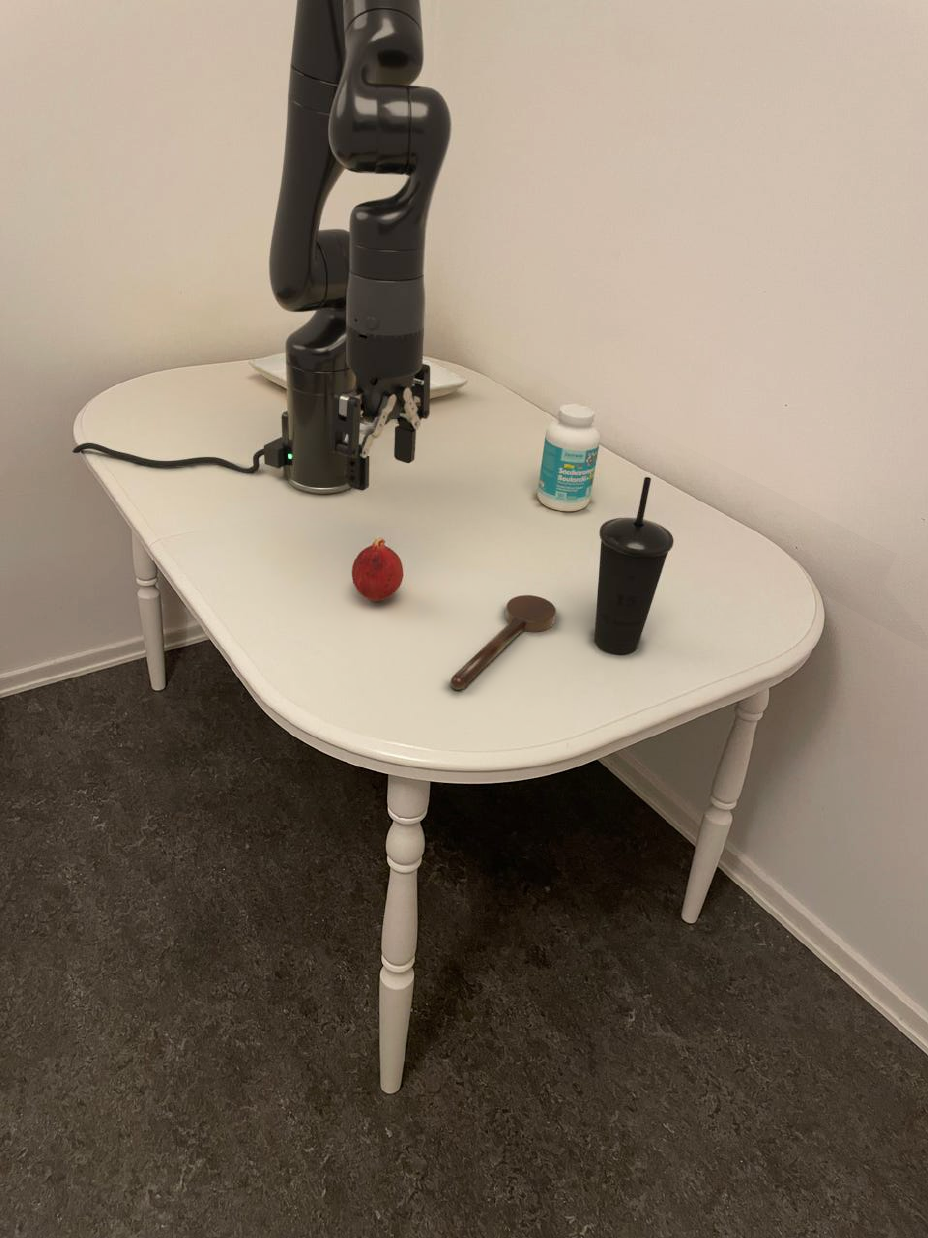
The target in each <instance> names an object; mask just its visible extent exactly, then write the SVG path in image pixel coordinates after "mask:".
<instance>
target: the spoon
mask: <svg viewBox="0 0 928 1238" xmlns="http://www.w3.org/2000/svg"><path fill="white" fill-rule="evenodd" d="M556 610H557V609H556V606H555V605H554V604H553V603H552V602H551V601H550V600H548V599H546V598H544V597H542V596H538V595H533V594H532V595H531V594H523V595H517V596H514V597H512V598H511V599H509V601H508V602H507V603H506V607H505V620H506V622H507V624H506V625H505V627H504V628H502V629H501V630H500V631H499V632H498V633H497V634H496V635H495V636H494V637H493V638H491V640H489V641H488V642H487V643H486V644H485V645H484V646H483V647H482V648H481V649H480V650H479V651H478V652H477V653H476V654H474V655H473V657H472V658H470V659H469V660H468V661H467V662H466V663H465V664H464V665H463V666H462V667H461V668H460V669H459V670H458V671H456V672H455V674H453V675H452V677H451V678H450V686H451V687H452V688H453V689H454V690H457V691H461V690H464V688H465V687H466V686H467V685H468V684H470V682H472V681H473V679H475V678H476V677H477V676H478V675H479V673H481V672H482V671H483V670H484V669H485V668H486V667H487V666H488V665H489V664H490V663H491V662H492V661H493V660H494V659H496V658H497V656H498V655H499V654H500V653H501V652H502V651H503V650H504V649H505V648H506V647H507V646H508V645H509V644H510V643H511V642H512V641H514V640H515V638H516V637H518V636H519V635H520V634H521V633H522V632H526V633H527V632H529V633H540V632H544V631H547V630H549V629H551V628H552V627H553V626H554V624H555V620H556V612H557V611H556Z"/></svg>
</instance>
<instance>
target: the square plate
mask: <svg viewBox="0 0 928 1238" xmlns="http://www.w3.org/2000/svg"><path fill="white" fill-rule="evenodd" d="M422 364H426V365H429V366H430V400H431V399H435V398H438V397H442V396H446V395H449V394H452V393H454V392H456V391H458V390H459V389H461V388H463V386H465V385H466V384H467V383H468V381H469V380H468V379H467V378H465V377H464V376H461V375H459V374H457V373H455V372H453V371H451V370H449V369H447V368H445V367H442V366H440V365H439V364H437V363H435V362H433V361H430V360H428V359H426V358H424V357H423V363H422ZM248 365H250V366H251V367H252V368H253V369H254V370H255V371H256V372H257V373H258V374H260V376H262V377H264V378H266V379H267V380H269V381H271V382H273V383H274V384H277V385H279V386H281V387H283V388H284V389H285V390H287V383H286V353H285V352H280V353H276V354H271V355H267V356H264V357H259V358H255V359H252V360H248ZM414 402H415V404H416V405H417V404H418V403H419V404H420V398H419V397H416V396H414ZM361 418H363V416H362V415H361Z"/></svg>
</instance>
